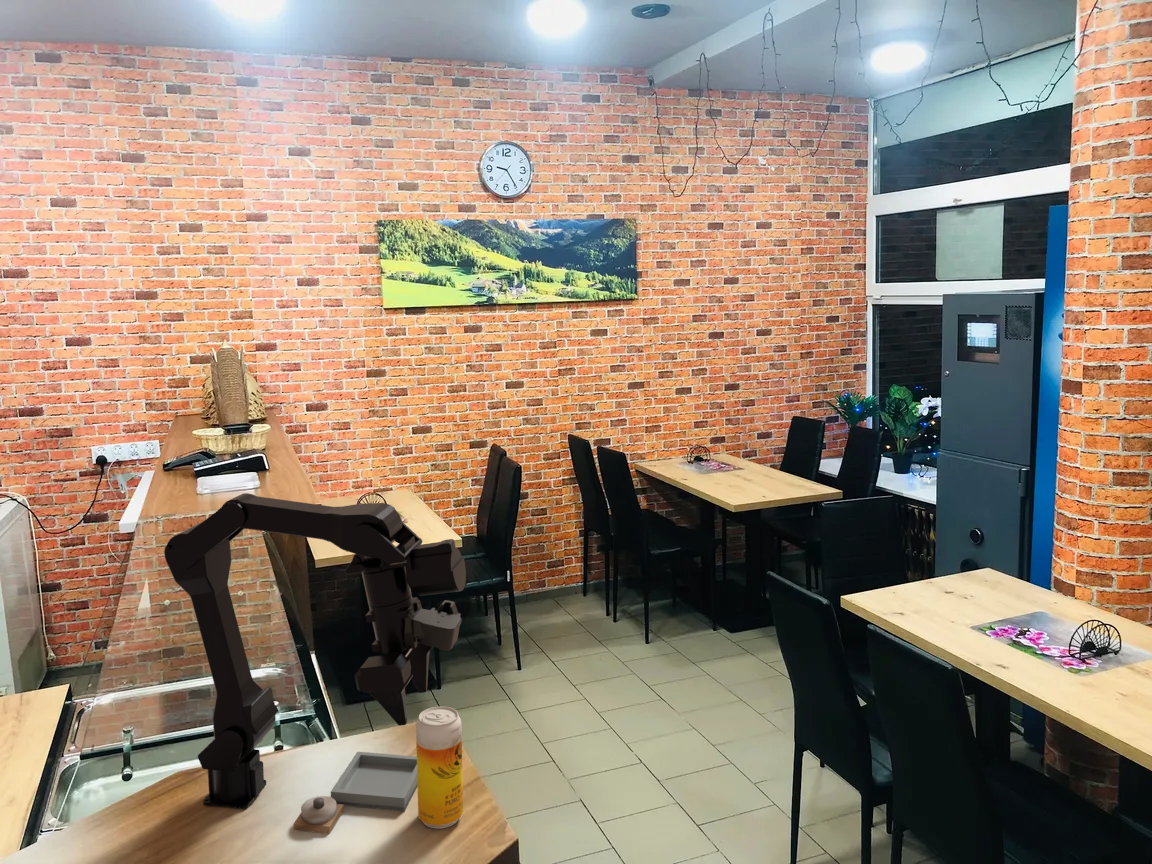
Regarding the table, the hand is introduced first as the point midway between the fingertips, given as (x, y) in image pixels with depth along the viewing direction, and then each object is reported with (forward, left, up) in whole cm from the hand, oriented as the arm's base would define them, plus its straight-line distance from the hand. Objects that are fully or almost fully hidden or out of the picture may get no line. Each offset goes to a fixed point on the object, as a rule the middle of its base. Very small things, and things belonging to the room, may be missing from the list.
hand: (413, 707), depth 120 cm
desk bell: (-12, -4, -16) cm, 20 cm away
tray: (-7, +5, -16) cm, 18 cm away
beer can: (+4, -1, -16) cm, 16 cm away
